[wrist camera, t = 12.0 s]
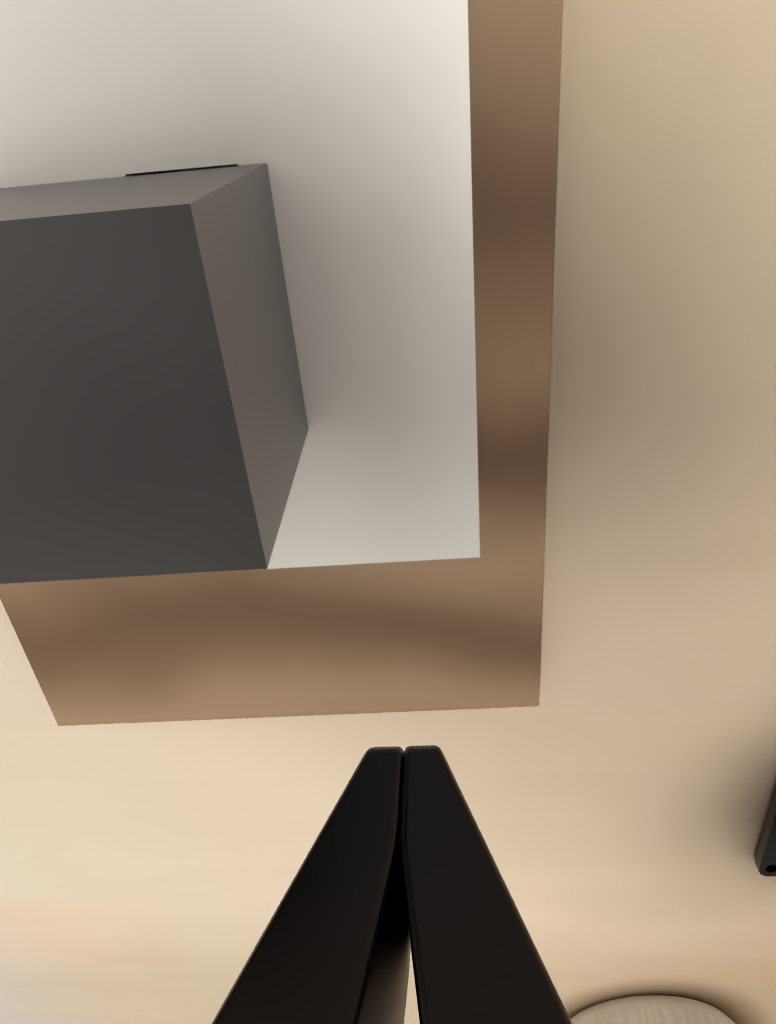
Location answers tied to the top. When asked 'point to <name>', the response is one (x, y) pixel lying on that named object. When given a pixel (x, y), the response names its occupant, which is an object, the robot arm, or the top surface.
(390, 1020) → the robot arm
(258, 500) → the charcoal cube
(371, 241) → the socket
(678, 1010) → the ramekin
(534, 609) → the walnut board
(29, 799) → the top surface
